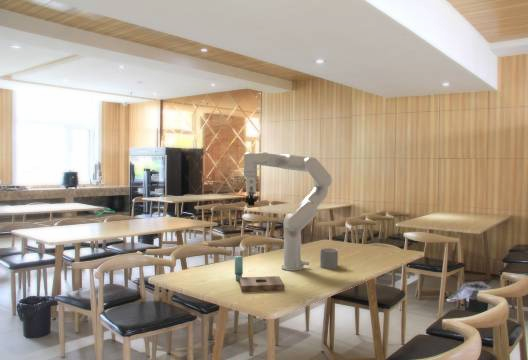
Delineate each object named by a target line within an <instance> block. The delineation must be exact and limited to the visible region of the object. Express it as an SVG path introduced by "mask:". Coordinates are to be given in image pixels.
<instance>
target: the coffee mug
mask: <svg viewBox="0 0 528 360" xmlns="http://www.w3.org/2000/svg"><path fill="white" fill-rule="evenodd" d="M338 252H339V250H338V248H332V247H331V248H330V247H329V248H328V247H326V248H320V250H319V253H320V254H319V256H320V257H319V260H320V261H319V263H320V264H319V267H320V268H322V269H325V270H327V269H328V270H333V269H338V267H339V265H338V263H339V262H338V260H339V256H338V254H339V253H338Z"/></svg>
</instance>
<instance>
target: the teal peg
mask: <svg viewBox="0 0 528 360" xmlns="http://www.w3.org/2000/svg"><path fill="white" fill-rule="evenodd" d="M243 258H244V257H243V256H242V255H235V256H234V275H235V281H238V282H240V277H243V274H244V272H243V271H244V270H243V268H244V267H243V265H244V264H243V261H244V260H243Z"/></svg>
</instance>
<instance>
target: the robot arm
mask: <svg viewBox="0 0 528 360" xmlns="http://www.w3.org/2000/svg"><path fill="white" fill-rule="evenodd" d="M258 165H259V166H265V167H271V168H278V169H282V170H289V171H290V170H291V171H297V172H305V173H306V172H307V173H309V175H310V176H311V177H312V179H313V189H312V191H310V193H309V194H308V195H307V196H305V198H304V199H302V201H300V203H299V204H298V205H297V210H295V212H290V213H287V214H286V215H285V216H284V218H283V221H282V223H283V265H281V269H282V270H284V271H291V272H292V271H293V272H294V271H302V270H304V266H310V261H306V260H305V261H303V260H302V239H301V238H302V234H301V233H302V232H301V231H302V230H303V229H304V228H305V227H306V226H307V225H308V224H309V223H310V222H311V221H312V220H314V218H315V217H316V215H317V213H318V208H319V206H320V205H321V204H322V203H323V202H324V201H325V199H326V198H327V196H328V193H329V187H330V186H331V185H332V182H333V178H332V176H331V174H330V173H329V171H327V169H326V168H325V167H324V166H323V164H322V163H321V162H320V161H319V160H318V158H316V157H314V156H302V155H295V154H274V153H269V152H266V151H263V152H245V153H244V154H243V178H245V191H246V193H245V194H246V195H247V197H246V204H247V205H248V207H250V206H251V207H252V206H255V195H257V180H256V178H258Z"/></svg>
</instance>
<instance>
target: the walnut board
mask: <svg viewBox="0 0 528 360" xmlns="http://www.w3.org/2000/svg"><path fill="white" fill-rule="evenodd" d="M239 286H240V291H241V293H259V292H260V293H261V292H262V293H263V292H284V291H285V283H284V281H283V280H282V279H281V276H279V275H277V276H242V277H240V281H239Z"/></svg>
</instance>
